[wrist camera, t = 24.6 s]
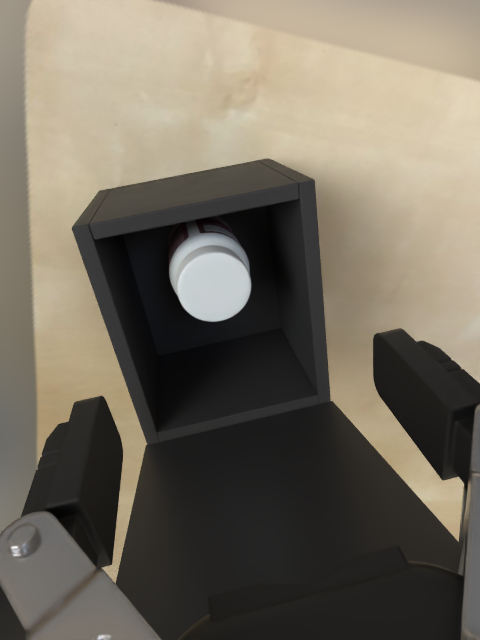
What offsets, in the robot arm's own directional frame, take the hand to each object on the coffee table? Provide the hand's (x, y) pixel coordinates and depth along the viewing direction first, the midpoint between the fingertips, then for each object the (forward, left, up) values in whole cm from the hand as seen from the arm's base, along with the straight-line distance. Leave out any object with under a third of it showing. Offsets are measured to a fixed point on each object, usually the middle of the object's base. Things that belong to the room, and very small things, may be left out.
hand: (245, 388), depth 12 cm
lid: (+6, +5, -3) cm, 8 cm away
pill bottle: (+1, +1, -19) cm, 19 cm away
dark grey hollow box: (+2, +2, -20) cm, 20 cm away
